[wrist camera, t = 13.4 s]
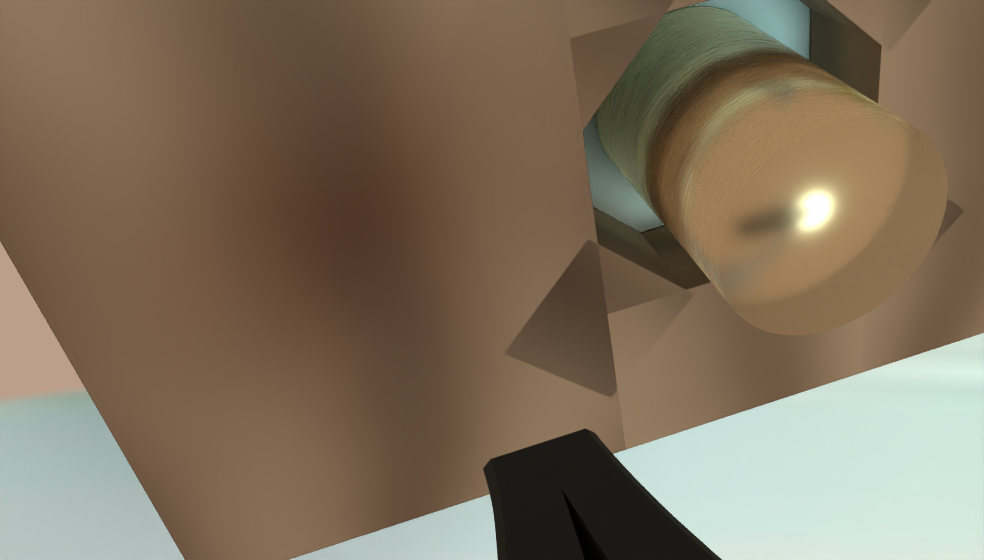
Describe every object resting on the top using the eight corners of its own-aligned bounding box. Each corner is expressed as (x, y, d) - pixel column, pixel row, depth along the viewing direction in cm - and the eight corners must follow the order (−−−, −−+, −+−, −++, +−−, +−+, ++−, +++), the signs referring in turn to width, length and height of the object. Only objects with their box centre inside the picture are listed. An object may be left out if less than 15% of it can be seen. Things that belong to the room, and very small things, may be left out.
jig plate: (202, 506, 22) (201, 587, 20) (-116, -90, 14) (-172, -55, 12) (943, 272, 24) (1009, 324, 22) (1020, -359, 16) (1134, -367, 14)
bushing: (609, 205, 21) (726, 364, 16) (582, 37, 18) (709, 161, 13) (773, 154, 21) (938, 294, 16) (767, -18, 19) (958, 84, 14)
